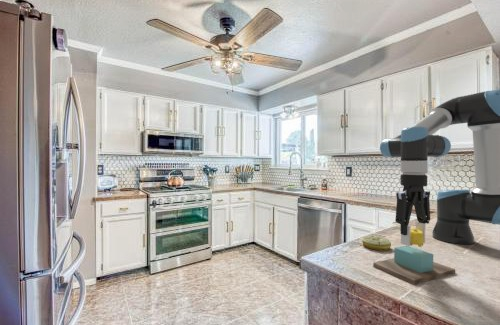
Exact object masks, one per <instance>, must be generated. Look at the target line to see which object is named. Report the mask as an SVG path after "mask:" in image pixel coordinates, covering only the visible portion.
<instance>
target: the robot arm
mask: <svg viewBox="0 0 500 325" xmlns="http://www.w3.org/2000/svg"><path fill="white" fill-rule="evenodd" d="M458 124H459V125H460V124H466V126H467V128H468V129H470V130H471V131H472V143H473V144H472V145H473V157H474V158H473V162H474V179H475V187H474V188H473V189H471V191H470V189H444V190H439V191H438V192H437V194H436V223H435V225H434V227H433V230H432V238H434V239H436V240H438V241H441V242H445V243H449V244H450V243H451V244H458V245H473V244H475V236H474V234H473V231H472V228H471V226H470V221H475V222H480V223H486V224H491V225H500V89H494V90H487V91H482V92H476V93H471V94H467V95H461V96H457V97H454V98H451V99H448V100H447V101H445V102H442V103H441V104H439V105H437V106H435V107H434V108H432V109H431V110H430V111H429V112H428V114H427V115H426V116H425V117H423V118H421V119H420V120H419V121H417V122H416V123H415V124H412V126H410V127H404V128H402V129H401V132H400V134H398V135H396V136H395V137H393V138H385V139H383V140H382V141H381V143H380V146H379V151H380V154H381V155H382V156H383V157H385V158H392V159H393V158H400V173H402V174H401V175H400V185H401V186H403V188H402V191H401V192H399V191H397V192H396V194H395V196H396V210H395V223H397V224H399V225H400V245H401V244H402V245H403V246H409V247H411V245H410V235H411V229H412V228H411V227H412V226H411V225H410V221H411V216H412V212H413V207H414V211H415V216H416V220H417V221H416V222H415V229H417V230H421V231H422V232H423V244H426V224H429V223H430V221H431V208H430V197H431V192H430V191H426V190H425V188H424V187H427V186H428V175H427V174H428V171H429V170H428V167H429V164H428V158H429V157H430V158H439V157H440V158H441V157H444V156H446V155H447V154H449V153H450V151H451V148H452V144H451V141H450V139H448V138H447V137H445V136H443V135H439V134H436V135H435V133H437V132H438V131H439V130H441V129H445V128H448V127H449V126H453V125H458Z"/></svg>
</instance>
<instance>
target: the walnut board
mask: <svg viewBox="0 0 500 325" xmlns="http://www.w3.org/2000/svg"><path fill="white" fill-rule="evenodd" d="M372 264H373V265H372V266H373V267H375V268H376V269H379V270H381V271H383V272H385V273H387V274H390V275H393V276H394V277H397V278H398V279H401V280H402V281H405V282H408V283H410V284H412V285H417V284H420V283H424V282H425V283H426V282H428V281H432V280H436V279H439V278H442V277H445V276H449V275H453V274H455V273H456V269H455V268H453V267H450V266H447V265H444V264H441V263H438V262H435V261H433V270H430V271H426V272H423V273H420V272H417V271H415V270H412V269H410V268H407V267H405V266H402V265H400V264H397V263H395V262H394V257H393V258H390V259H385V260H380V261H376V262H375V261H374V262H373V263H372Z"/></svg>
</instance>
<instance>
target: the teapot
mask: <svg viewBox="0 0 500 325" xmlns="http://www.w3.org/2000/svg"><path fill="white" fill-rule="evenodd" d="M413 245H414V246H415V245H416V246H418V247H420V248H422V246H424V243H423V232H422V231H421V230H417V229H416V228H411V235H410V246H413Z"/></svg>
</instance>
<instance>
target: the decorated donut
mask: <svg viewBox="0 0 500 325" xmlns="http://www.w3.org/2000/svg"><path fill="white" fill-rule="evenodd" d="M361 242H362V245H363V246H364V247H365V248H368V249H371V250H374V251H375V250H376V251H383V252H384V251H388V250H389V249H390V248H392V247H391V246H392V242H391V240H389V239H387V238H385V237H382V236H373V235H372V236H371V235H370V236H369V235H368V236H364V237H362V239H361Z"/></svg>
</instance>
